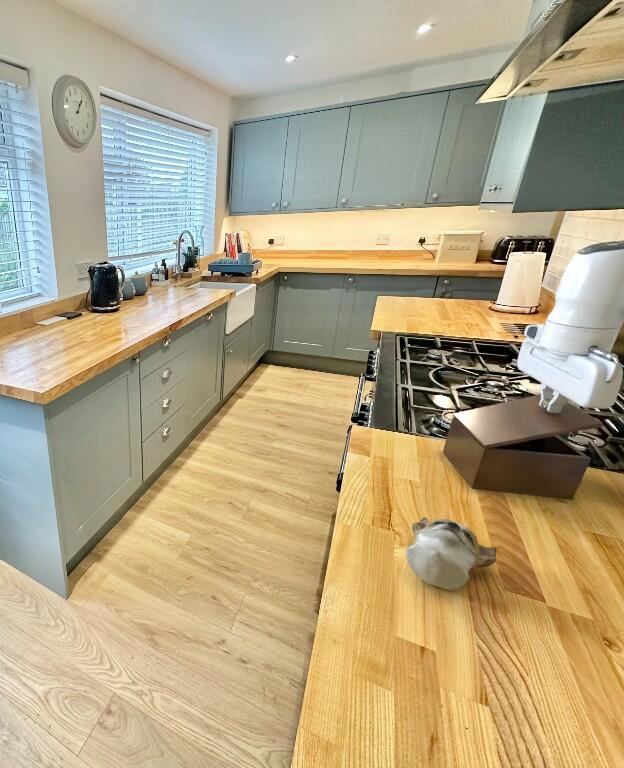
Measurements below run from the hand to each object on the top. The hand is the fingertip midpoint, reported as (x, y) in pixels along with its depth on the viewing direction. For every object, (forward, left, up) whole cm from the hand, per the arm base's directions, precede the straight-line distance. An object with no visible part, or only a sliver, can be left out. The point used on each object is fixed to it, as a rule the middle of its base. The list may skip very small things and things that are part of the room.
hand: (548, 409), depth 78 cm
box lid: (+4, 0, -3) cm, 5 cm away
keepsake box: (+4, 0, -15) cm, 15 cm away
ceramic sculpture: (+25, +30, -15) cm, 42 cm away
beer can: (-9, -12, -15) cm, 21 cm away
